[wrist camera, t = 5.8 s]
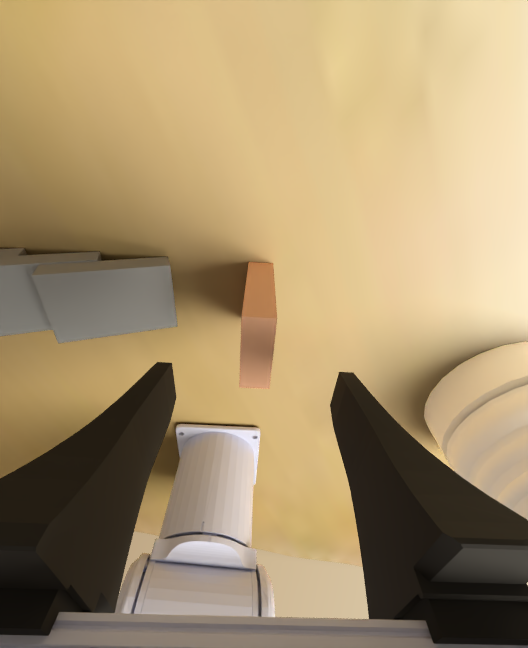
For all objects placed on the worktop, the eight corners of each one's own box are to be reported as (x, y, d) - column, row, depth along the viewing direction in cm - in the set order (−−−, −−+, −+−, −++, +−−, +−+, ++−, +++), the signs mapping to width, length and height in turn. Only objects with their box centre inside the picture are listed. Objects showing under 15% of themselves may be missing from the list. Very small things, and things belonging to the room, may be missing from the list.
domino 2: (177, 326, 20) (58, 343, 17) (174, 314, 21) (63, 329, 19) (170, 265, 17) (31, 275, 15) (167, 256, 19) (39, 264, 16)
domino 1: (113, 322, 20) (-15, 338, 17) (114, 310, 21) (-5, 324, 19) (96, 259, 17) (-54, 268, 15) (99, 251, 18) (-40, 258, 16)
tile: (268, 320, 21) (269, 388, 15) (246, 319, 21) (239, 387, 15) (273, 263, 19) (277, 318, 13) (248, 261, 19) (241, 316, 13)
